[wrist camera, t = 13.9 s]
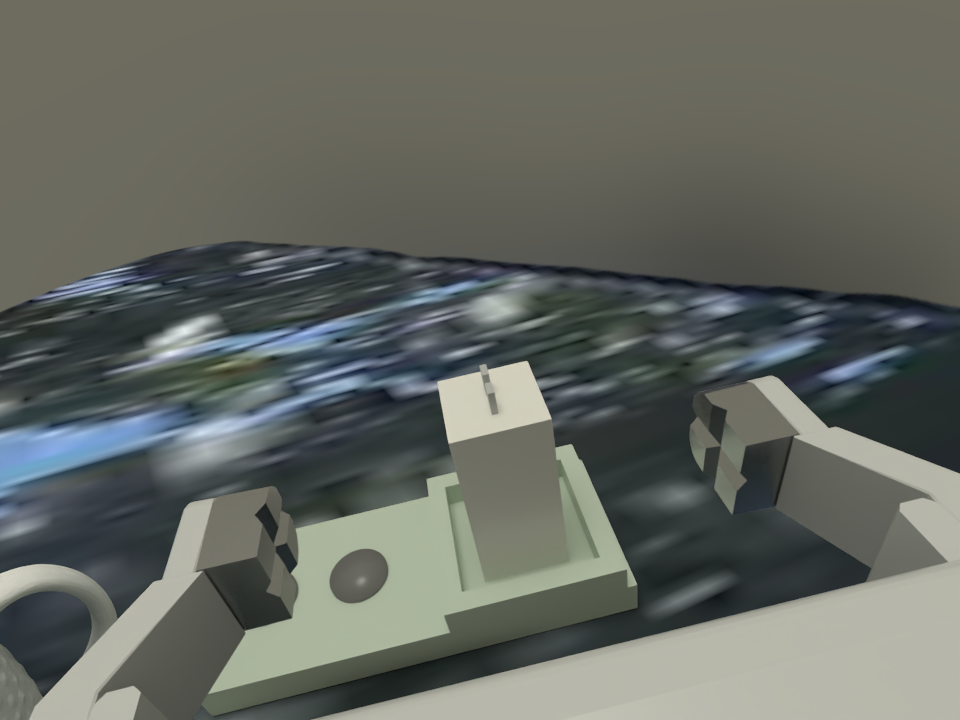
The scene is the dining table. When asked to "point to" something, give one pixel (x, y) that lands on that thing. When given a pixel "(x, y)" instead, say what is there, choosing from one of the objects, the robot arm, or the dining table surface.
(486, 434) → the charger
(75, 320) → the dining table surface
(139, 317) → the dining table surface
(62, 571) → the mug
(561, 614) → the green desk organizer
